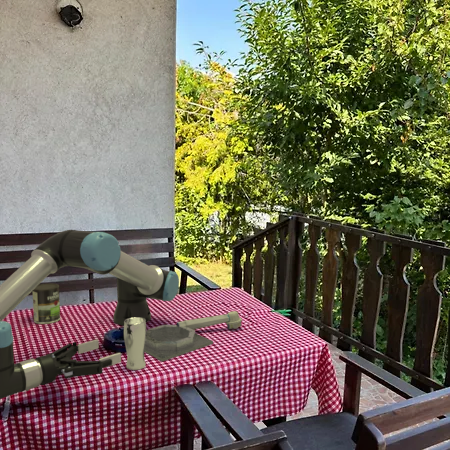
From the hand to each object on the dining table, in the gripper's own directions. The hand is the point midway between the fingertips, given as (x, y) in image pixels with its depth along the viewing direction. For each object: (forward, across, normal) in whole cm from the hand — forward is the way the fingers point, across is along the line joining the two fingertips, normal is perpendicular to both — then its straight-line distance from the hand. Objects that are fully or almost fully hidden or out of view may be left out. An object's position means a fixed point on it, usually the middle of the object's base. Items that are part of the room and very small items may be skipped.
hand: (108, 350), depth 137 cm
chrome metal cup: (+9, 0, -8) cm, 12 cm away
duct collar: (+28, -8, -8) cm, 30 cm away
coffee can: (+5, -61, -8) cm, 62 cm away
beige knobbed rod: (+47, -7, -8) cm, 48 cm away
